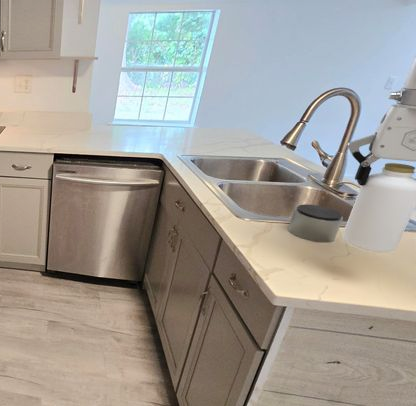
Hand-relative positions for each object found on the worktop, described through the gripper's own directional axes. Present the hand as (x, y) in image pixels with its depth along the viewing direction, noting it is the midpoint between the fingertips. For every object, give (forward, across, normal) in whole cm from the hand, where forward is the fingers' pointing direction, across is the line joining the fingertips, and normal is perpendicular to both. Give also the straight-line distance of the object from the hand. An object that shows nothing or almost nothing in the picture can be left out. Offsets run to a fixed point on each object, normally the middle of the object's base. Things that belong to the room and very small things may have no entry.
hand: (391, 186), depth 74 cm
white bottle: (+14, 0, 0) cm, 14 cm away
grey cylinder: (+22, -5, +23) cm, 33 cm away
